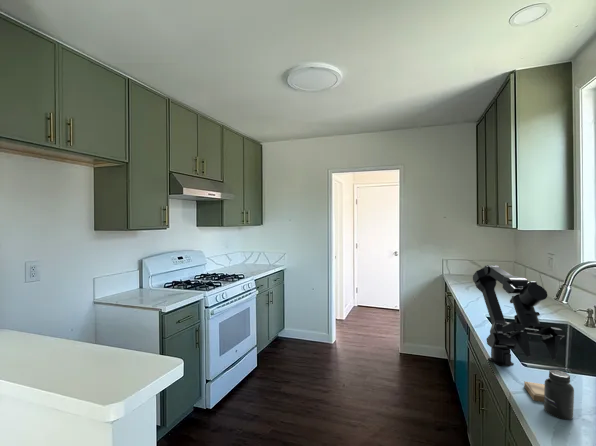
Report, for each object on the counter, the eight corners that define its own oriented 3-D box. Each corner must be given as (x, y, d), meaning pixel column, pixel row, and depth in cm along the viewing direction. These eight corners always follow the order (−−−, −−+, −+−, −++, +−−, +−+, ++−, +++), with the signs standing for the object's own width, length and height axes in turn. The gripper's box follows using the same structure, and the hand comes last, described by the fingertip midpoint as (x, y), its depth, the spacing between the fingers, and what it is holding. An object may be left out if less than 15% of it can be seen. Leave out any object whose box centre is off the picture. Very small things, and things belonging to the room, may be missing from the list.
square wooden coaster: (524, 386, 110) (524, 380, 110) (556, 391, 108) (556, 385, 108) (533, 400, 102) (533, 394, 102) (568, 406, 99) (568, 399, 99)
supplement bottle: (541, 413, 95) (542, 372, 95) (545, 404, 100) (546, 365, 100) (572, 423, 90) (572, 381, 90) (575, 413, 95) (575, 373, 95)
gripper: (531, 321, 121) (547, 366, 112) (486, 315, 119) (498, 360, 110) (556, 311, 112) (575, 359, 103) (507, 304, 110) (522, 352, 101)
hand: (541, 358), depth 104 cm, fingers open, 9 cm apart
